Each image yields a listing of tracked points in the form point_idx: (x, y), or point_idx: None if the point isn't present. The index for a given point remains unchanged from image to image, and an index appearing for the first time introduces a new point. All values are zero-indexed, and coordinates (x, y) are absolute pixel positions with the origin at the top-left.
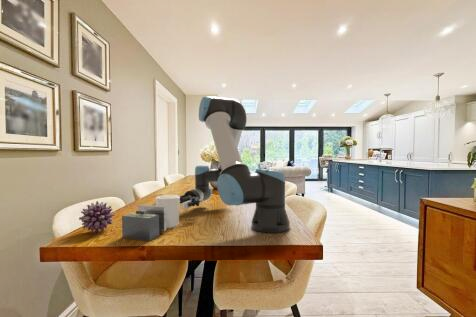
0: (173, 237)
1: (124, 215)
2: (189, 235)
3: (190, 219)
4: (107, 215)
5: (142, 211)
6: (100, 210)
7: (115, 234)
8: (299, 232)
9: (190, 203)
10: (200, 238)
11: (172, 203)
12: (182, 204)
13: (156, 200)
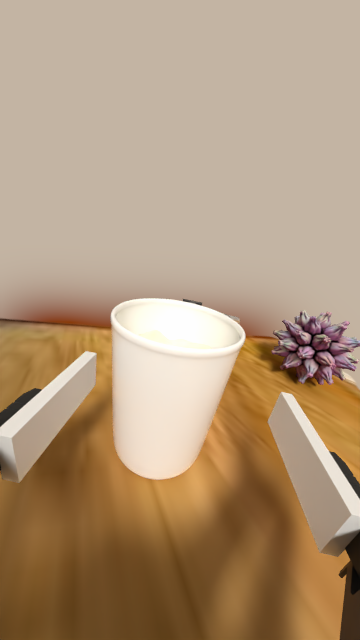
0: (107, 349)
1: (222, 313)
2: (66, 355)
3: (20, 614)
4: (285, 338)
5: (184, 299)
6: (301, 326)
7: (245, 366)
8: None
9: (27, 394)
10: (39, 342)
11: (137, 320)
12: (94, 359)
13: (212, 321)
